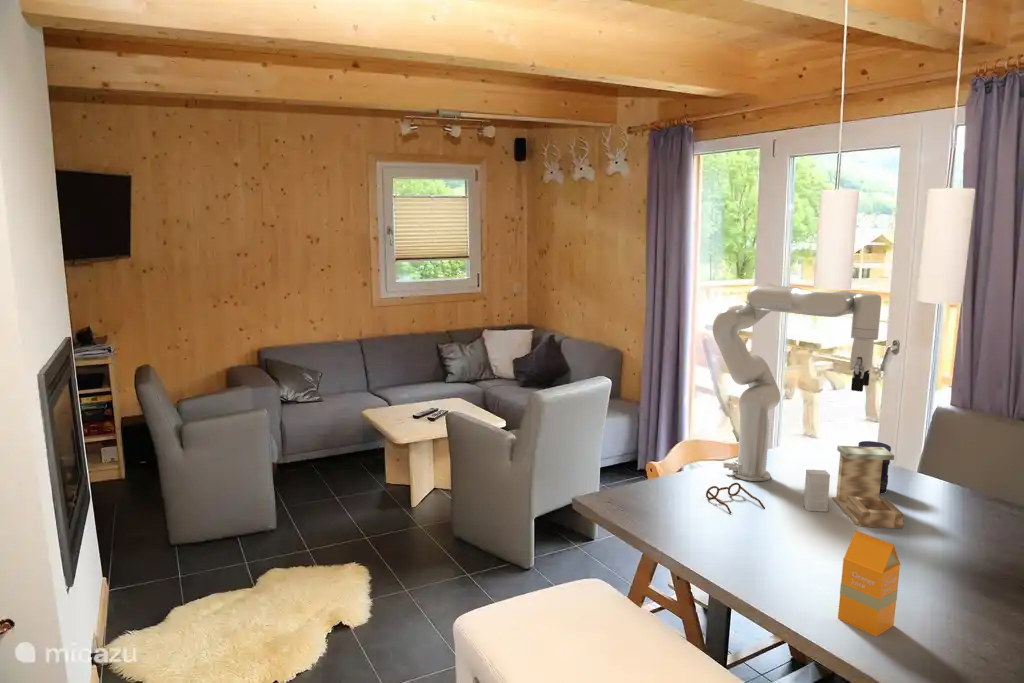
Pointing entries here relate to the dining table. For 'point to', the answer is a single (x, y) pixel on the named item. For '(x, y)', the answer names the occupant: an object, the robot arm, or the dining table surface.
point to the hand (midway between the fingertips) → (859, 387)
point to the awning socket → (865, 487)
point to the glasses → (729, 494)
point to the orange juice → (869, 584)
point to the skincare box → (816, 490)
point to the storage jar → (884, 465)
